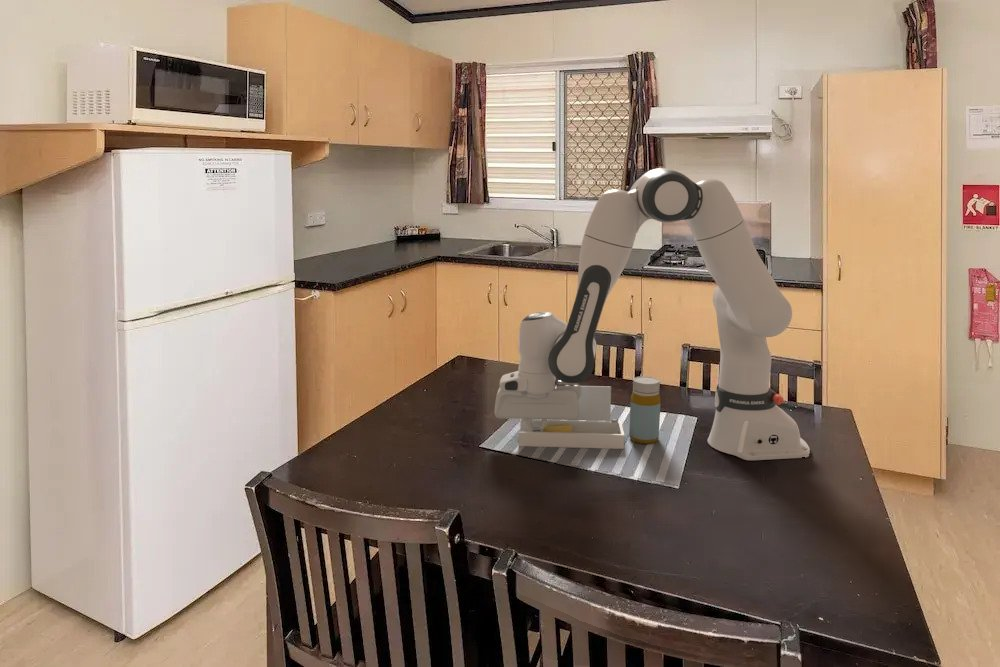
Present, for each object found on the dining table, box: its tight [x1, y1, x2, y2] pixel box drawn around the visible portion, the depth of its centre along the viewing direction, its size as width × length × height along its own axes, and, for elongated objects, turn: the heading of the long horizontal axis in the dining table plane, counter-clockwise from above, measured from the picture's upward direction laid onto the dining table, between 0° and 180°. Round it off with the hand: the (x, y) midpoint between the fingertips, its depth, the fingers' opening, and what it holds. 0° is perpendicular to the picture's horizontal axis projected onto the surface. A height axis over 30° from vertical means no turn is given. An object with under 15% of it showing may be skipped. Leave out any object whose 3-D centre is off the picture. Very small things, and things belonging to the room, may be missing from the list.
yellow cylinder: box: [543, 425, 572, 433], centre depth 171 cm, size 7×3×3 cm
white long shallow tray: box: [518, 418, 625, 450], centre depth 169 cm, size 25×9×4 cm, turn 85°
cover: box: [547, 385, 612, 422], centre depth 173 cm, size 20×8×1 cm
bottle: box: [628, 375, 662, 445], centre depth 168 cm, size 7×7×15 cm
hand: (536, 435), depth 169 cm, fingers closed
